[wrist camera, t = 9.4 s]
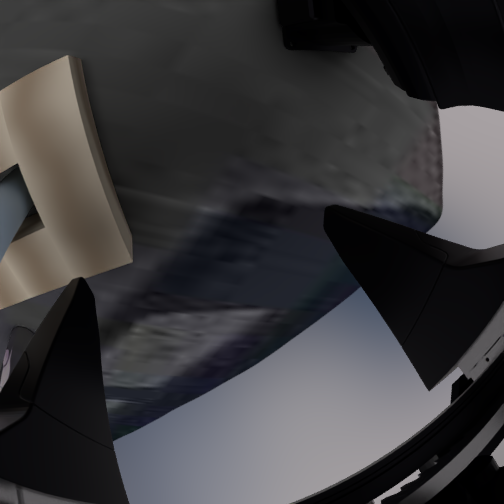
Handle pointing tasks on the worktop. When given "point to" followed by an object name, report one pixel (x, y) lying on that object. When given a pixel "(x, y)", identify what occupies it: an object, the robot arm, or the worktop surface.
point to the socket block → (58, 185)
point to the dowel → (12, 207)
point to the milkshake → (14, 352)
